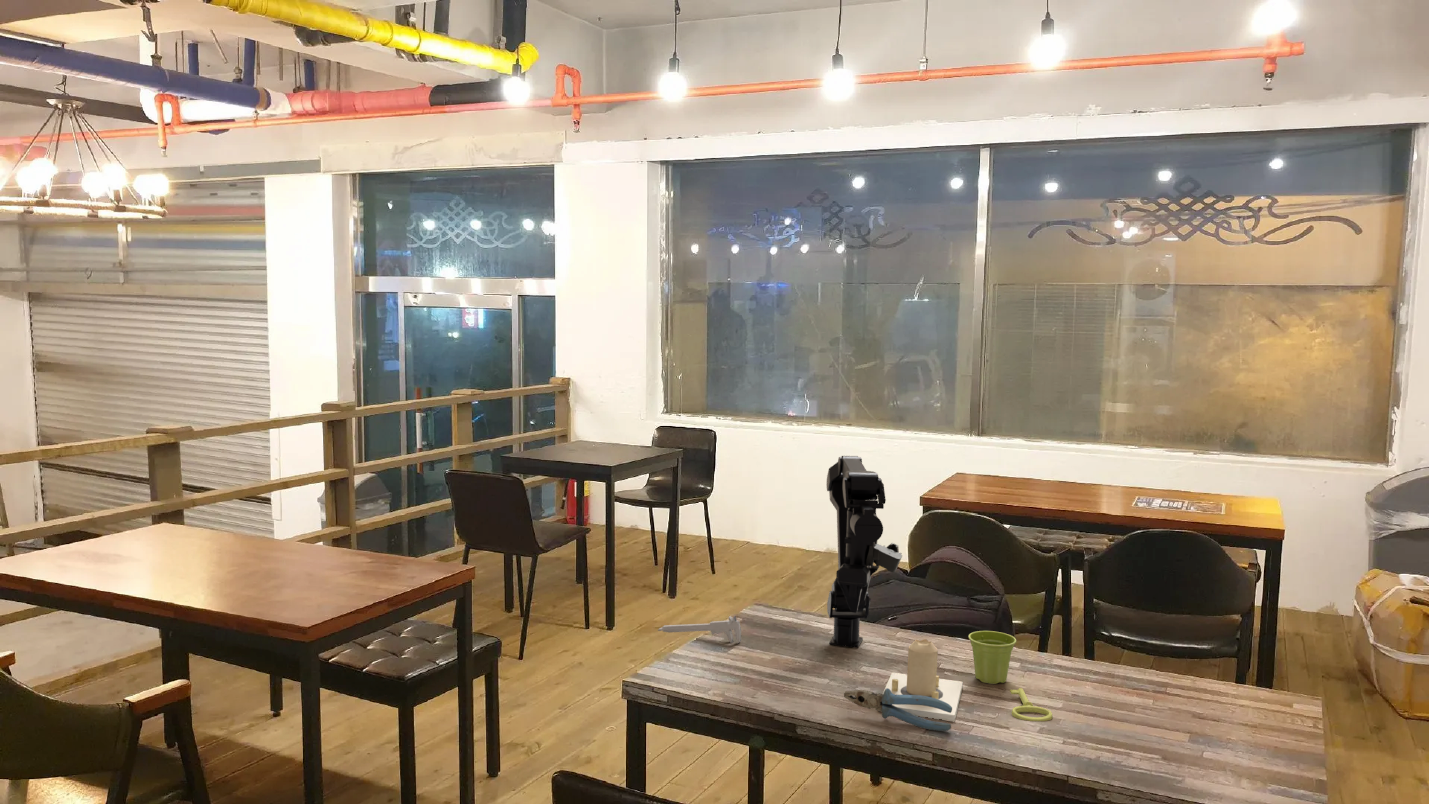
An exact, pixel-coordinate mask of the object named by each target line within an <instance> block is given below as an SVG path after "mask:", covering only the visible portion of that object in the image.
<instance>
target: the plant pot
mask: <svg viewBox="0 0 1429 804" xmlns="http://www.w3.org/2000/svg"><path fill="white" fill-rule="evenodd" d="M968 639H969V641H970V646H971V647H972V657H973V663H974V665H973V667H974V673H975V679H976V680H979V681H980V682H982V683H984V684H990V685H995V684H996V685H997V684H998V683H1002V684H1004V683H1005V682H1007V680H1008V673H1009V667H1010V661H1011V655H1012V651H1013V649H1014V646H1015V644H1017V639H1016V638H1015V636H1013V635H1011V634H1007V633H1005V632H999V631H993V630H979V631H978V630H977V631H973V632H971V633H969V634H968Z"/></svg>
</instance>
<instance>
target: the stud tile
mask: <svg viewBox="0 0 1429 804" xmlns="http://www.w3.org/2000/svg"><path fill="white" fill-rule="evenodd" d="M890 674H891V675H890V677H889V678H888V681H887V683H886V686H885V688H884V690H883V693H884V691H885V689H886V688H888V689H890V691H891V692H892V693H893V694H895V695H912V694H910V693H908V692H907V674H905V673H899V672H897V673H896V672H891V673H890ZM963 684H964V683H963V681H960V680H952V679H944V678H940V675H936V691H932V696H929V697H931V698H935V699H938V700H941V701H943V702H946V703H948V704H949V705H950V706H951V707H952V712H951V713H949V712H946V711H943V710H941V709H937V708H934V707H929V706H923V705H895V704H892V705H894V706H895V707H898V708H900V709H902V710H904V711H907V712H909V713H911V714H913V715H915V716H920V718H925V717H928V718H927V719H932V718H934V719H933V720H939V719H942V720H941V721H948V722H953V723H955V721H956V717H957V713H958V708H959V705H960V700H961V697H962V691H963ZM883 693H882V694H883Z"/></svg>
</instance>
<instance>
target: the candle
mask: <svg viewBox="0 0 1429 804" xmlns="http://www.w3.org/2000/svg"><path fill="white" fill-rule="evenodd" d="M907 651H908V652H907V653H908V654H907V667H906V668H907V670H906V671H907V672H906V673H907V674H906V675H907V692H908V693H910V694H912V695H921V696H927V697H929V696H932V691H936V675H937V674H938V673H937V672H938V653H939V652H938V651H939V650H938V648H937V647H936V646H935V644H934V643H933V642H932V641H929V640H928V639H924V638H923V639H922V640H919V639H915V640H914V641H913V642H912V643H911V644H910V645H909V646H908V649H907Z"/></svg>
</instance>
